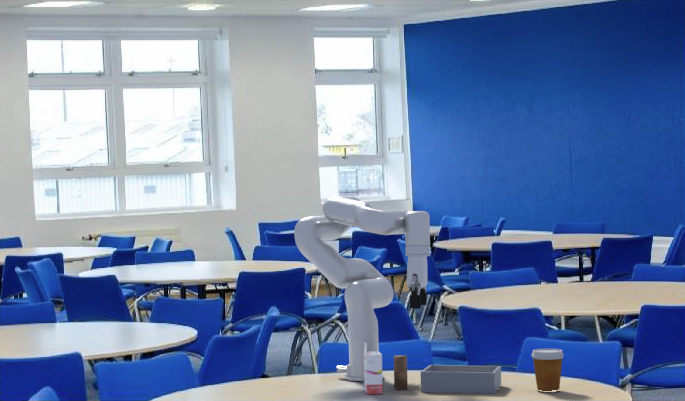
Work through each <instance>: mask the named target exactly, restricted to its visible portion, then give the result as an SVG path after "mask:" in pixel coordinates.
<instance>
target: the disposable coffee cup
mask: <svg viewBox="0 0 685 401" xmlns="http://www.w3.org/2000/svg"><path fill="white" fill-rule="evenodd" d="M530 356H531V357H532V360H533V368H534V375H535V382H536V388H537V389H538V390H542V391H552V390H558V389H559V390H560V386H561V385H560V384H561V376H562V367H563V365H562V363H563V358H564V356H565V354H564V352H563V350H562V349H561V348H560V349H558V348H536V349H532V353H531V355H530ZM538 390H537V391H538Z"/></svg>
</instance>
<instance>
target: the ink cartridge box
mask: <svg viewBox="0 0 685 401" xmlns="http://www.w3.org/2000/svg"><path fill="white" fill-rule="evenodd" d="M365 347H366V349H365ZM382 374H383V354H382V352H380V351H373V352H367V344H366V343H364V381H363V384H364V385H363V386H364V387H363V388H364V391H365V393H366V394H367V395H381V394H382V395H383V391H384V390H383V388H384V387H383V379H382Z"/></svg>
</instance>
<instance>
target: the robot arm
mask: <svg viewBox="0 0 685 401" xmlns="http://www.w3.org/2000/svg"><path fill="white" fill-rule="evenodd" d="M322 213H323V215H312V216H307V217H303V218H301V219H299V221H297V223H296V224H295V226H294V233H293V234H294V240H295V246H296V247H297V248H298V251H299V252H300V253H301V255H303V257H305V258H306V259H307V260H308V261H309V262H310V263H311V264H312V265H313V266H314V267H316V269H318V271H319V272H320V273H321V274H322V275H323V276H324V277H325V278H326V279H327V280H328V281H329V282H330V283H331V284H332V285H333V286H334V287H336V289H337V288H338V289H344V303H345V306H346V312H347V324H348V326H347V327H348V328H347V329H348V359H349V360H348V361H349V363H348V364H347V365H337V366H336V372H338V373H346V374H345V375H344V380H346V381H350V382H351V381H352V382H364V343H366V344H367V352H373V351H379V347H380V346H379V324H378V323H379V322H378V318H377V316H376V313H375V311H374V310H375V309H380V308H384V307H387V306H389V305H390V304H391V303H392V302H393V299H394V294H395V293H394V288H393V286H392V284H391V282H390V280H388V279H387V278H386V277H385V276H384V275H383V274H382V273H381V272H380V271H379V270H377V269H376V268H375V266H374V265H373V264H371V263H370V262H369V261H368V260H365V259H363V258H359V257H358V258H357V257H355V258H353V257H352V258H348V257H347V258H346V257H345V256H342V255H341V254H340V253H339V252H338V251H337V250H336V249H335V248H334V247H332V245H329V244H327V243H326V242H328V241H329V242H330V241H336V240H338V239H340V237H342V236H343V235H344V234H345V233H346V232H348V231H349V230H350V229H351V228H353V227H354V228H359V229H360V230H362V231H364V232H365V233H370V234H371V233H372V234H377V235H380V236H389V235H390V236H391V235H404V237H405V240H404V241H405V257H407V266H406V268H407V269H406V288H407V289H410V291H409V307H410V309H412V310H414V309H416V310H417V309H419V310H420V309H421V307H422V306H427V305H428V300H427V298H428V297H427V296H428V294H427V293H428V292H427V285H428V257H431V233H430V232H431V227H430V226H431V224H430V223H431V221H430V217H431V216H430V214H429V212H427V211H425V210H413V211H411V210H406V209H401V210H399V209H395V210H379V209H374V208H373V207H372V205H371V204H370V203H369V202H367V201H363V200H362V201H361V200H360V199H359V198H358V197H356V196H351V195H346V196H343V195H342V196H340V195H339V196H332V197H329V198H327V200H326V201H324V203H323V205H322ZM365 349H366V347H365ZM379 352H380V351H379ZM384 378H385V374H384V373H382V380H384Z"/></svg>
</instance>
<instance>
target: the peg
mask: <svg viewBox="0 0 685 401" xmlns="http://www.w3.org/2000/svg"><path fill="white" fill-rule="evenodd" d="M393 384H394V385H393V386H394V387H393V388H394V391H408V388H409V386H408V356H407V355H403V354H402V355H398V354H397V355H394V356H393Z"/></svg>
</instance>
